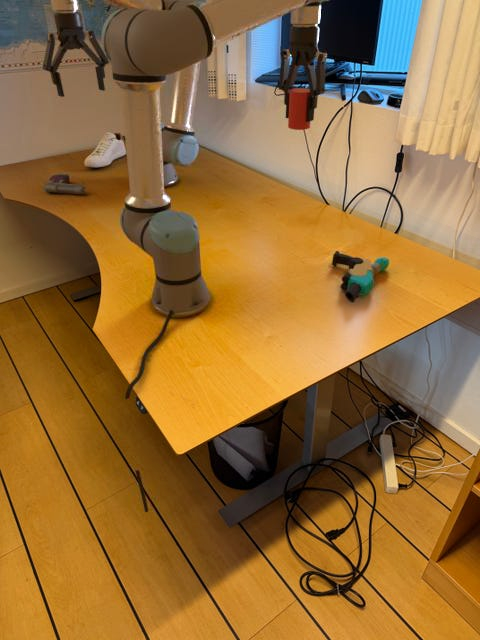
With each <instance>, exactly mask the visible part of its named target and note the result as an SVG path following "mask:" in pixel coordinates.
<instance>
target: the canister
mask: <svg viewBox="0 0 480 640" xmlns="http://www.w3.org/2000/svg"><path fill="white" fill-rule="evenodd" d="M309 95H310V89H309V88H306V87H305V88H304V87H295V88H292V89H291V90H290V95H289V117H288V118H287V128H288V129H290V130H295V131H296V130H297V131H304V130H308V129H310V127H311V121H310V122H306V117H307V102H308V97H309Z"/></svg>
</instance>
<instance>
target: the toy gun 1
mask: <svg viewBox="0 0 480 640" xmlns="http://www.w3.org/2000/svg"><path fill="white" fill-rule="evenodd" d="M70 181H71V180H70V175H69V173H55V174H54V175H53V174H52V175H51V176H50V177H49V181H48V182H45V183H44V186H43V187H42V190H43V191H45V192H47V193H56V194H71V195H85V192H86V190H87V187H86V186H85V185H82V184H78V183H76V184H75V183H74V184H73V183H70Z"/></svg>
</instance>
